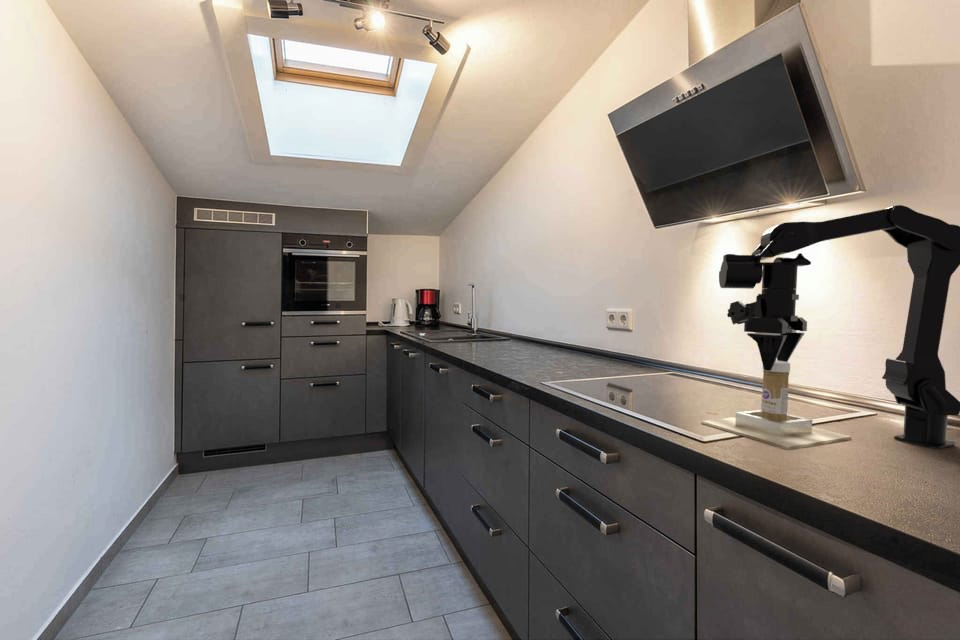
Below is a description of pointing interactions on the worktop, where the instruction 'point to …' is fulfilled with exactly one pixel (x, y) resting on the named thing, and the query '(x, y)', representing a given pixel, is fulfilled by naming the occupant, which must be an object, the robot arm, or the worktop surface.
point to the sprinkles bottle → (775, 392)
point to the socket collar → (774, 424)
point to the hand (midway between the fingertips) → (774, 368)
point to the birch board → (784, 442)
